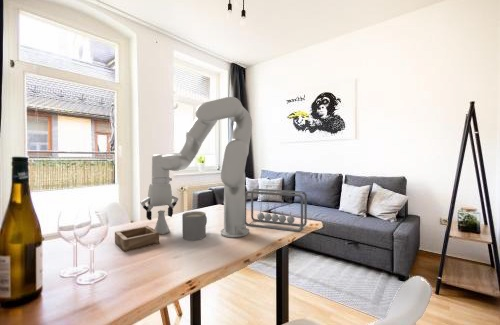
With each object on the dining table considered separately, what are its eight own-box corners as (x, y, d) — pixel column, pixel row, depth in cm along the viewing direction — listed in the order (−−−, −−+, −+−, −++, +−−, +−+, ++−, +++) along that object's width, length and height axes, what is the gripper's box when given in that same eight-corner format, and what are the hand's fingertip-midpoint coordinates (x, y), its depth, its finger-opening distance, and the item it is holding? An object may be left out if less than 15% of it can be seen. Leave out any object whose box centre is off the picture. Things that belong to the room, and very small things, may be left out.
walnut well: (159, 243, 98) (159, 232, 98) (124, 252, 89) (124, 240, 89) (147, 235, 107) (147, 225, 107) (114, 242, 99) (114, 231, 98)
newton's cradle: (306, 226, 121) (307, 191, 121) (302, 232, 112) (303, 194, 111) (251, 220, 133) (251, 188, 132) (243, 225, 123) (243, 190, 123)
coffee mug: (192, 242, 100) (192, 217, 99) (177, 237, 105) (177, 214, 105) (215, 233, 110) (215, 211, 110) (201, 229, 116) (201, 209, 116)
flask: (172, 230, 115) (172, 209, 115) (165, 235, 108) (165, 213, 108) (157, 229, 116) (157, 209, 116) (150, 234, 109) (149, 212, 109)
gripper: (174, 179, 120) (174, 213, 121) (138, 181, 108) (137, 219, 109) (181, 180, 115) (181, 216, 115) (144, 182, 103) (143, 222, 103)
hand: (159, 217), depth 112 cm, fingers open, 9 cm apart
